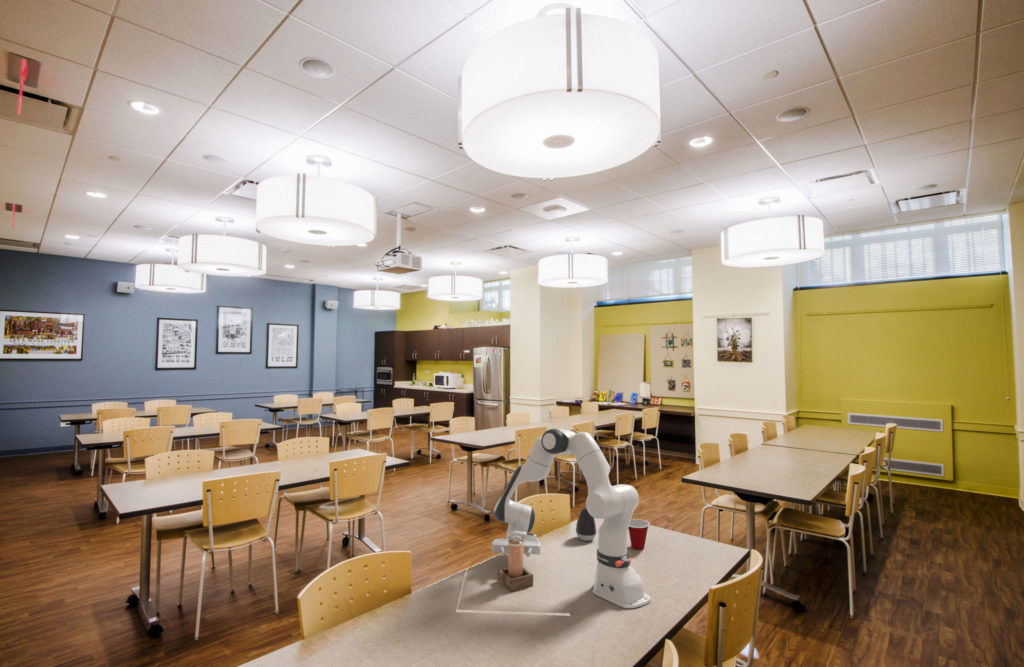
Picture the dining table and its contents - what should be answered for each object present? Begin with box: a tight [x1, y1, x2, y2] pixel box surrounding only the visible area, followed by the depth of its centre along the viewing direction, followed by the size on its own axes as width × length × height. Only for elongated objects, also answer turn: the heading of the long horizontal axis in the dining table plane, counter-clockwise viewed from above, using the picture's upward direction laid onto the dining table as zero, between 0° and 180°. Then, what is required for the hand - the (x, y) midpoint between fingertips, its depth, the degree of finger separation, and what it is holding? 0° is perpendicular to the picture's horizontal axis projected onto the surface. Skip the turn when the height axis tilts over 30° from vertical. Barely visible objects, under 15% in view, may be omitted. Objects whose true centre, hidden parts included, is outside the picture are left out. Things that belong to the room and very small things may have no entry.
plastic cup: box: [628, 518, 650, 551], centre depth 227 cm, size 11×11×12 cm
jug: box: [507, 539, 524, 579], centre depth 184 cm, size 9×6×16 cm
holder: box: [497, 567, 534, 593], centre depth 185 cm, size 10×10×5 cm
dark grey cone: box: [575, 506, 597, 542], centre depth 236 cm, size 10×10×15 cm
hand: (516, 554), depth 190 cm, fingers open, 8 cm apart
